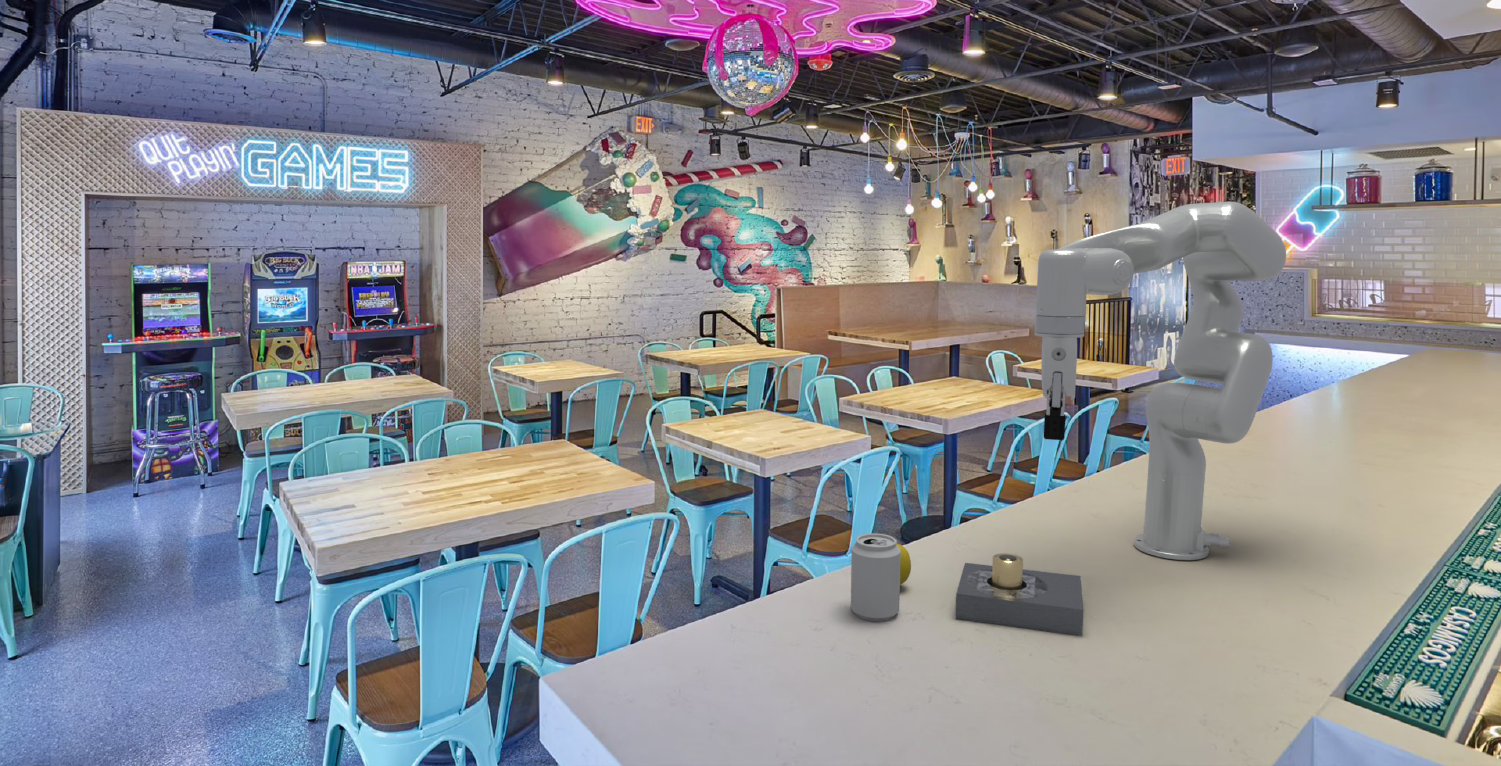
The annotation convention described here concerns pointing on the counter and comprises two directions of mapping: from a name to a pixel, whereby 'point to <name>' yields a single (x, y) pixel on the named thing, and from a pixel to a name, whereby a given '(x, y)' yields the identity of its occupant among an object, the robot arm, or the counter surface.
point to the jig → (1022, 600)
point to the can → (875, 577)
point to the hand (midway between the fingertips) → (1053, 438)
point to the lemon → (904, 564)
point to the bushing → (1007, 572)
